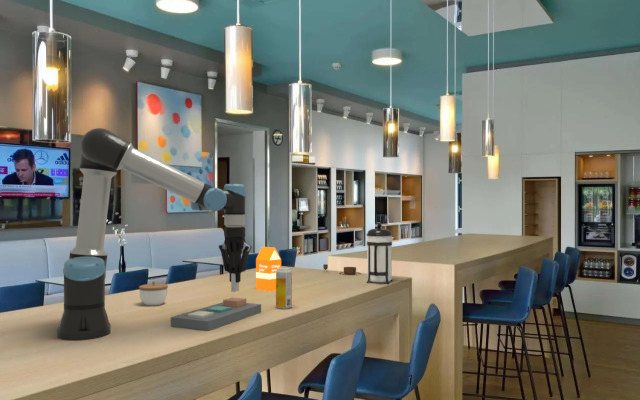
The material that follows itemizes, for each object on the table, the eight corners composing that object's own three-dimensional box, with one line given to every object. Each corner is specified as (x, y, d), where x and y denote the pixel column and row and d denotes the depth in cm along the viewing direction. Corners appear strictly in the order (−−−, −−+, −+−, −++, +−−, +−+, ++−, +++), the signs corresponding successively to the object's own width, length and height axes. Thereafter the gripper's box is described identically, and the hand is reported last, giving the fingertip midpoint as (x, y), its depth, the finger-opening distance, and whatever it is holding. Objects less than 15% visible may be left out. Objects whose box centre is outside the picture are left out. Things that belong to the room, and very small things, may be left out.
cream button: (202, 325, 176) (202, 315, 176) (187, 323, 179) (187, 314, 179) (213, 321, 182) (213, 312, 182) (199, 319, 184) (199, 310, 184)
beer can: (283, 305, 213) (283, 267, 213) (295, 307, 209) (295, 268, 210) (272, 308, 209) (272, 268, 209) (284, 310, 205) (284, 270, 205)
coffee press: (357, 282, 274) (357, 223, 274) (384, 280, 281) (384, 222, 281) (374, 287, 259) (374, 224, 259) (403, 285, 265) (403, 223, 266)
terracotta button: (237, 309, 194) (237, 301, 194) (223, 308, 197) (223, 300, 197) (246, 306, 200) (246, 298, 200) (232, 305, 202) (232, 297, 202)
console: (208, 330, 172) (208, 321, 172) (170, 326, 178) (170, 317, 178) (261, 312, 201) (261, 304, 201) (227, 308, 207) (227, 301, 207)
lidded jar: (138, 308, 208) (138, 284, 208) (139, 303, 218) (139, 280, 218) (167, 307, 210) (167, 283, 211) (167, 302, 221) (167, 279, 221)
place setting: (345, 278, 293) (345, 267, 293) (321, 275, 308) (321, 264, 308) (368, 275, 304) (368, 265, 304) (344, 272, 319) (344, 262, 319)
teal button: (220, 319, 185) (220, 310, 185) (206, 317, 188) (206, 308, 188) (230, 315, 191) (230, 307, 191) (216, 314, 193) (216, 305, 193)
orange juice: (267, 288, 256) (267, 246, 256) (281, 290, 250) (281, 247, 250) (255, 290, 250) (255, 247, 250) (269, 292, 244) (269, 248, 244)
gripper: (255, 226, 199) (255, 290, 199) (225, 225, 205) (226, 288, 204) (244, 227, 192) (244, 294, 192) (213, 226, 198) (214, 291, 198)
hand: (235, 291), depth 198 cm, fingers closed
